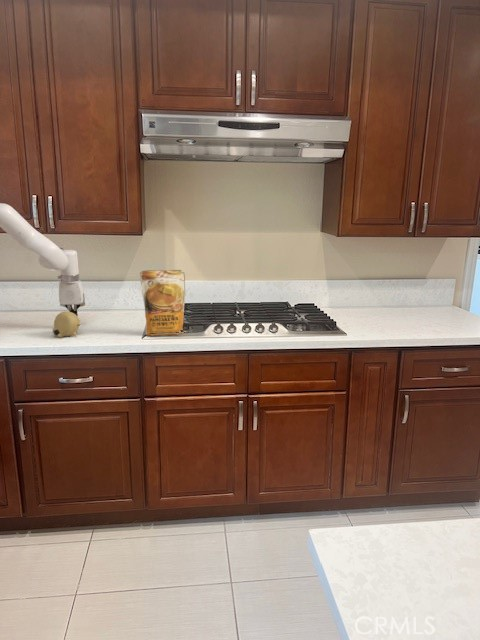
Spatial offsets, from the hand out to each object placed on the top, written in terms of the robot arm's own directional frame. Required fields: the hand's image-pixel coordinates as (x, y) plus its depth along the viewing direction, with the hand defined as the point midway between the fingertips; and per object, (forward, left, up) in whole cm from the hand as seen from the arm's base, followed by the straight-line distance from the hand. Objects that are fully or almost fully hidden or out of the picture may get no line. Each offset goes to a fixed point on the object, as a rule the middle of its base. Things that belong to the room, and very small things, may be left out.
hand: (74, 318), depth 209 cm
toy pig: (-8, -8, -5) cm, 12 cm away
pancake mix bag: (+22, -36, -5) cm, 42 cm away
